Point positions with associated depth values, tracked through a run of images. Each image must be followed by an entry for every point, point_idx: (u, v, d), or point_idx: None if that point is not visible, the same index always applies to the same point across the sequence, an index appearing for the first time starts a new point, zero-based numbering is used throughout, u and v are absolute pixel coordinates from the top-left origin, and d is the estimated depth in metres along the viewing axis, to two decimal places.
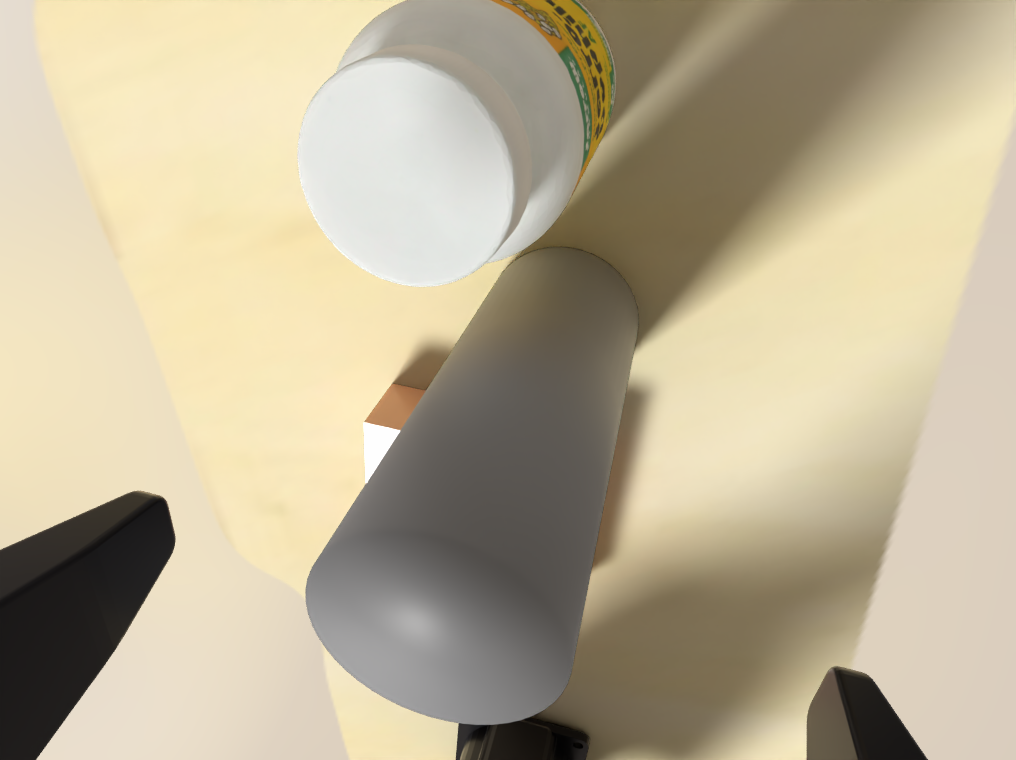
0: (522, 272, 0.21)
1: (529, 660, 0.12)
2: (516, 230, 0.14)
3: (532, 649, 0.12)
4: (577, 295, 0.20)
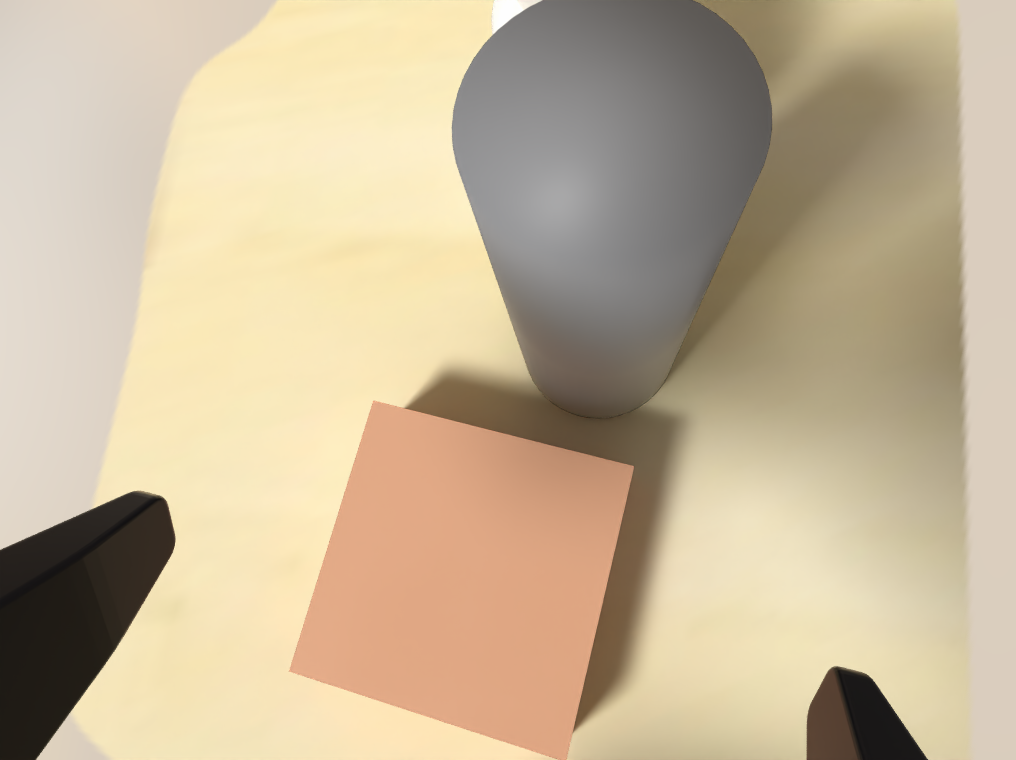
0: None
1: (719, 135, 0.11)
2: None
3: (725, 118, 0.11)
4: None
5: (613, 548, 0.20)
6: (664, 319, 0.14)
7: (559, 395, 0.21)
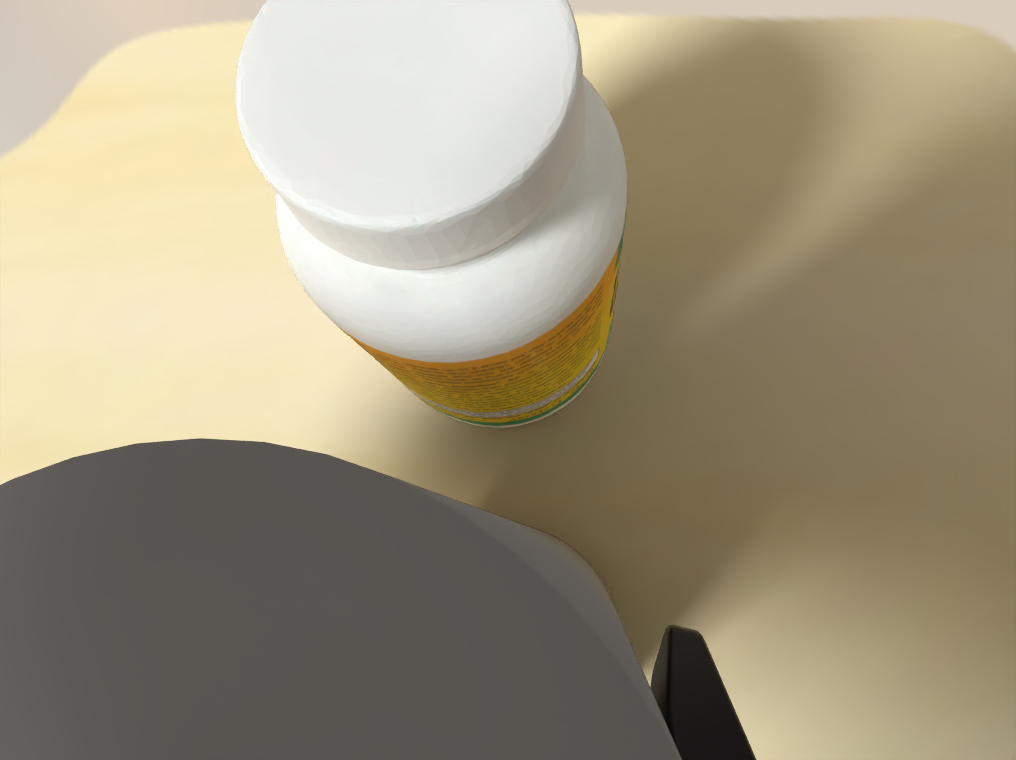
0: None
1: None
2: (528, 272, 0.09)
3: None
4: (555, 539, 0.13)
5: None
6: None
7: None
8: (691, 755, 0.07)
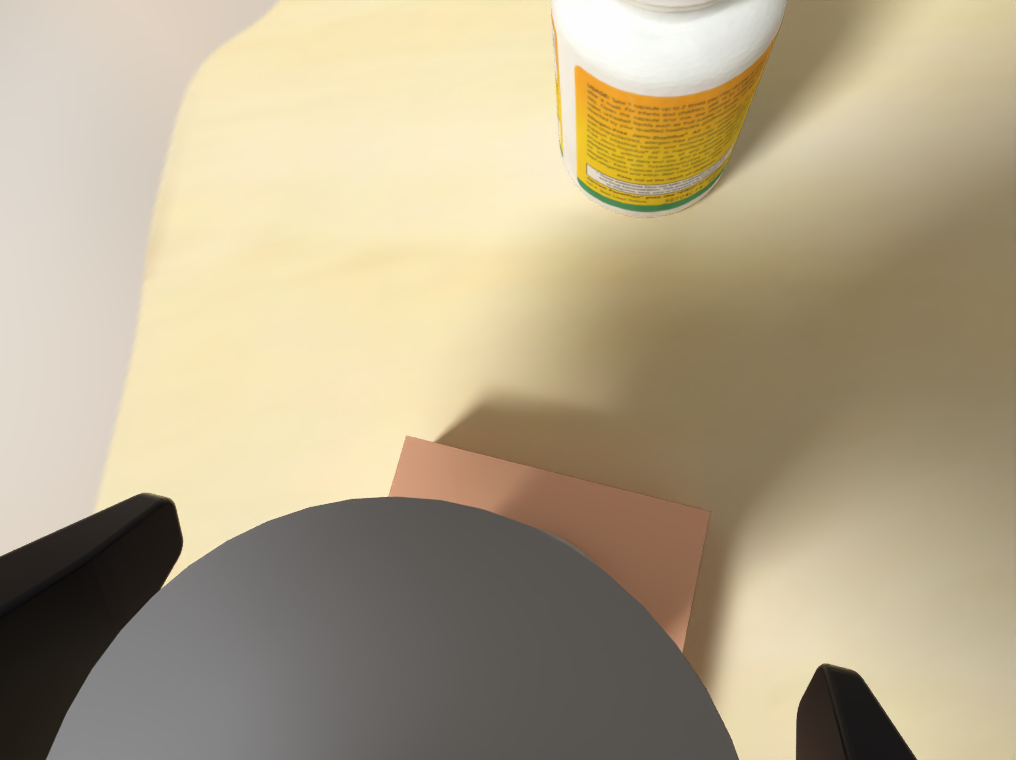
0: None
1: None
2: (736, 23, 0.15)
3: None
4: None
5: (689, 607, 0.17)
6: None
7: None
8: None
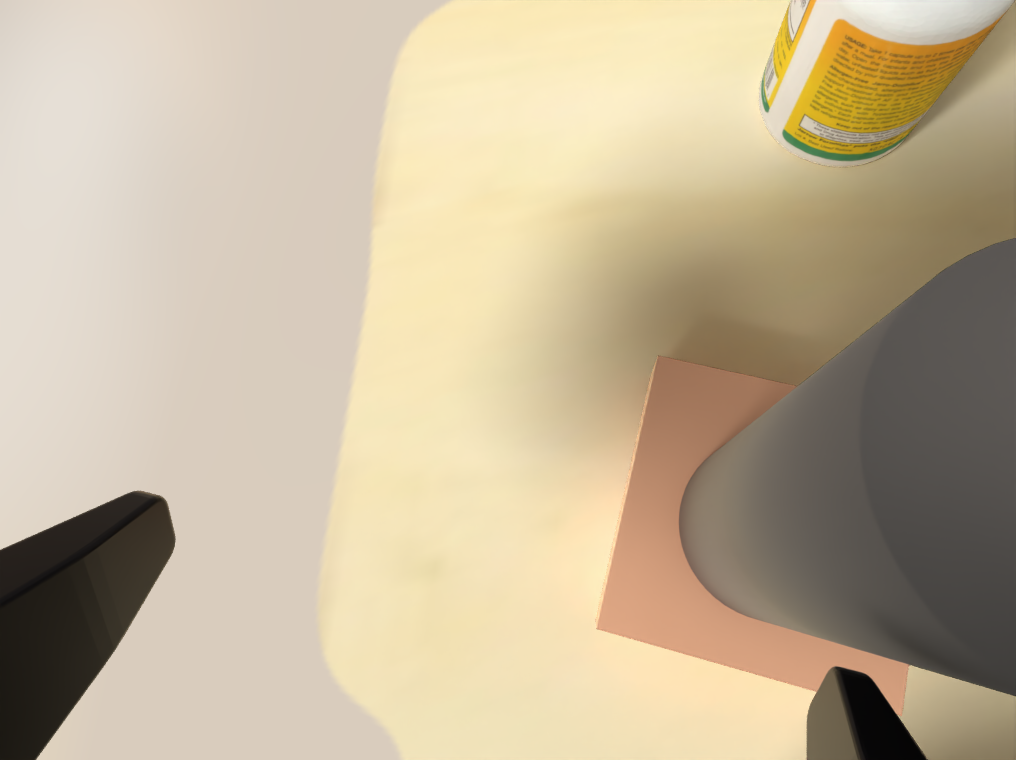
0: None
1: None
2: None
3: None
4: None
5: None
6: None
7: (733, 602, 0.17)
8: None
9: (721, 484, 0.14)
